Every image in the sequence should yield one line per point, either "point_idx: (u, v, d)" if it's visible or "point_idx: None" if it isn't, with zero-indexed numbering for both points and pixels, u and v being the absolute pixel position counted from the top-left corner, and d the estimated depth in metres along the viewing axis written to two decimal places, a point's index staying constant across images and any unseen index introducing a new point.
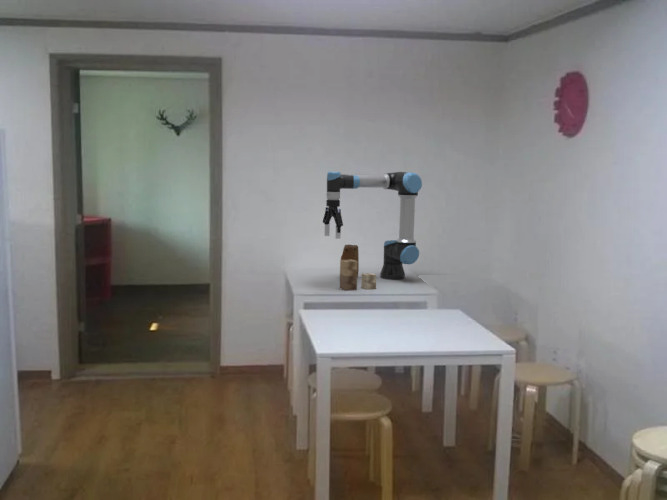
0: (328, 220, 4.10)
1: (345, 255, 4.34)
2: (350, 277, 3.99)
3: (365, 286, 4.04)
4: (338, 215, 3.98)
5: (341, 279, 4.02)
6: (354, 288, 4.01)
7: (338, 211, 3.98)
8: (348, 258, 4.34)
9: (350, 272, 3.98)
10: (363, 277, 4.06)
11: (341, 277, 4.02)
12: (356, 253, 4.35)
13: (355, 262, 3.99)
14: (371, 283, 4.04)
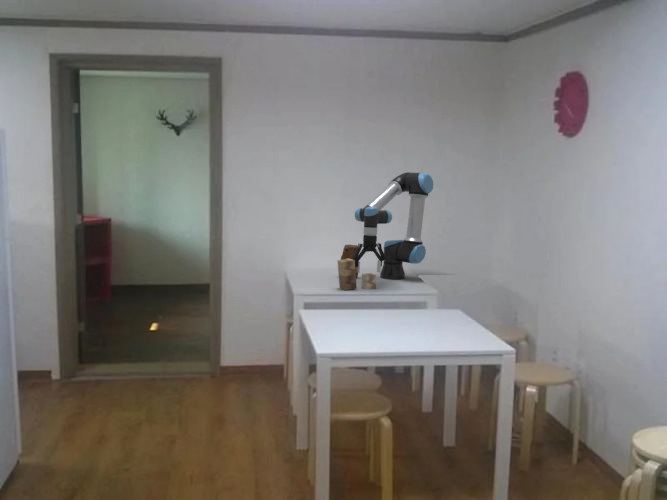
0: (377, 256, 4.07)
1: (345, 255, 4.34)
2: (349, 277, 3.99)
3: (365, 286, 4.04)
4: (357, 249, 4.01)
5: (340, 279, 4.02)
6: (354, 287, 4.01)
7: (358, 246, 4.01)
8: None
9: (348, 271, 3.98)
10: (363, 277, 4.06)
11: (340, 277, 4.02)
12: None
13: (352, 261, 3.98)
14: (371, 283, 4.04)
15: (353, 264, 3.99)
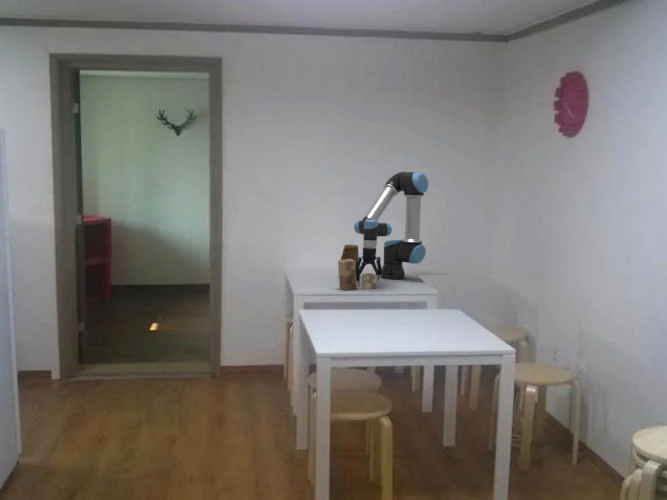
0: (375, 270, 4.07)
1: (345, 255, 4.34)
2: (349, 277, 3.99)
3: (365, 286, 4.04)
4: (357, 263, 4.02)
5: (340, 279, 4.02)
6: (354, 287, 4.01)
7: (358, 259, 4.02)
8: (348, 258, 4.34)
9: (348, 272, 3.98)
10: (363, 277, 4.06)
11: (340, 277, 4.02)
12: (356, 253, 4.35)
13: (353, 262, 3.98)
14: (371, 283, 4.04)
15: (353, 265, 3.99)
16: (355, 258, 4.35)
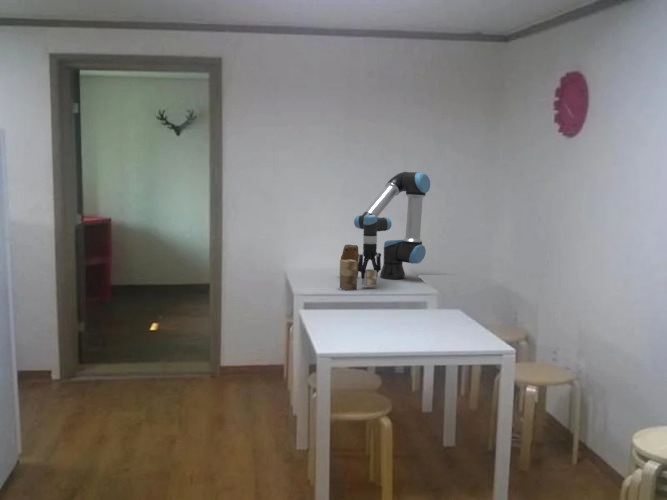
0: (374, 266, 4.07)
1: (345, 255, 4.34)
2: (350, 277, 3.99)
3: (366, 282, 4.04)
4: (359, 261, 4.03)
5: (341, 279, 4.02)
6: (354, 288, 4.01)
7: (359, 257, 4.02)
8: (348, 258, 4.34)
9: (349, 272, 3.98)
10: None
11: (341, 277, 4.02)
12: (356, 253, 4.35)
13: (355, 262, 3.99)
14: (371, 279, 4.04)
15: (355, 265, 3.99)
16: (355, 258, 4.35)
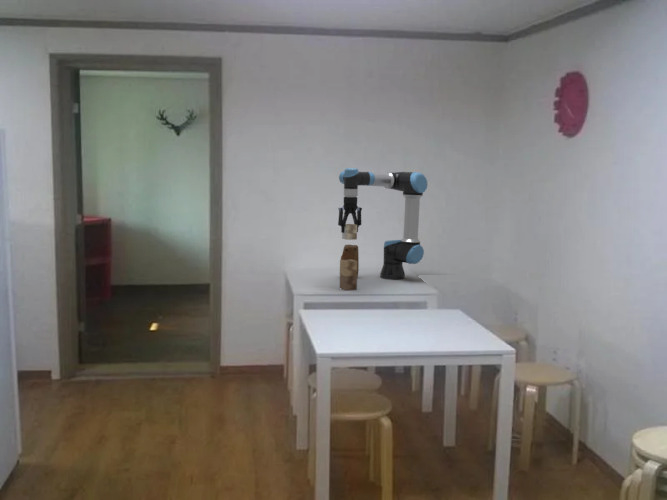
0: (354, 221, 3.99)
1: (345, 255, 4.34)
2: (350, 277, 3.99)
3: (346, 236, 3.97)
4: (339, 214, 3.95)
5: (341, 279, 4.02)
6: (354, 288, 4.01)
7: (339, 210, 3.95)
8: (348, 258, 4.34)
9: (349, 272, 3.98)
10: None
11: (341, 277, 4.02)
12: (356, 253, 4.35)
13: (355, 262, 3.99)
14: (352, 233, 3.97)
15: (355, 265, 4.00)
16: (355, 258, 4.35)
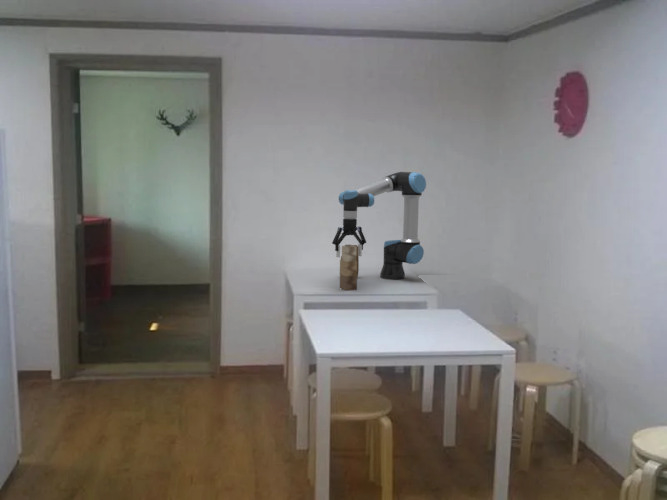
0: (358, 240, 4.02)
1: None
2: (350, 277, 3.99)
3: (345, 258, 3.98)
4: (336, 233, 3.96)
5: (341, 279, 4.02)
6: (354, 288, 4.01)
7: (338, 229, 3.96)
8: None
9: (349, 272, 3.98)
10: (343, 249, 4.00)
11: (341, 277, 4.02)
12: (356, 253, 4.35)
13: (355, 262, 3.99)
14: (351, 255, 3.98)
15: (355, 265, 4.00)
16: None
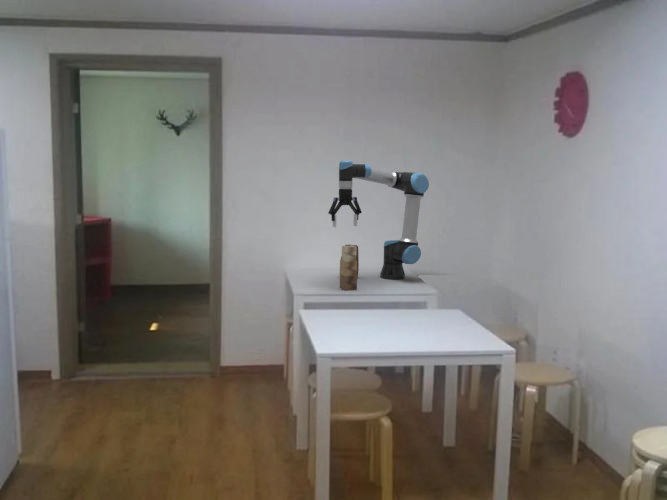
0: (353, 210, 4.07)
1: None
2: (350, 277, 3.99)
3: (345, 258, 3.98)
4: (332, 203, 4.00)
5: (341, 279, 4.02)
6: (354, 288, 4.01)
7: (334, 199, 4.00)
8: None
9: (349, 272, 3.98)
10: (343, 249, 4.00)
11: (341, 277, 4.02)
12: (356, 253, 4.35)
13: (355, 262, 3.99)
14: (351, 255, 3.98)
15: (355, 265, 4.00)
16: None
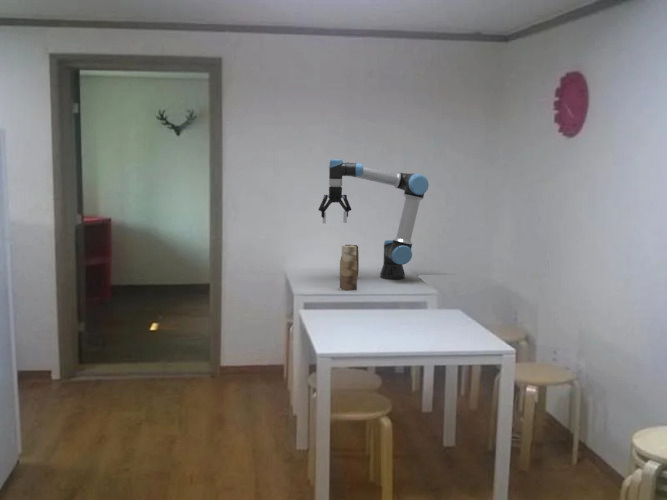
0: (343, 207, 4.20)
1: None
2: (350, 277, 3.99)
3: (345, 258, 3.98)
4: None
5: (341, 279, 4.02)
6: (354, 288, 4.01)
7: (324, 197, 4.14)
8: None
9: (349, 272, 3.98)
10: (343, 249, 4.00)
11: (341, 277, 4.02)
12: (356, 253, 4.35)
13: (355, 262, 3.99)
14: (351, 255, 3.98)
15: (355, 265, 4.00)
16: None
